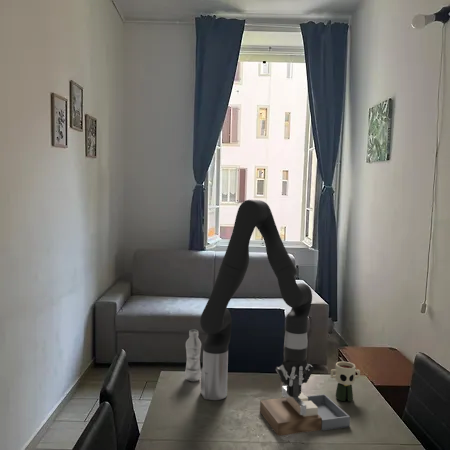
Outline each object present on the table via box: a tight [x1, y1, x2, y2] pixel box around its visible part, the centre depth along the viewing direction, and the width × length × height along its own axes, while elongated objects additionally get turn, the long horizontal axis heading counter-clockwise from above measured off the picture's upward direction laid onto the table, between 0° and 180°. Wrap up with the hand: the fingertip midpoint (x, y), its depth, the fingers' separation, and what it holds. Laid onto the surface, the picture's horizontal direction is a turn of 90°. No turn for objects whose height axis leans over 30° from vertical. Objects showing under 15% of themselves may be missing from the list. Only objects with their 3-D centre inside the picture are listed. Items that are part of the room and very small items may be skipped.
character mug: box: [330, 361, 361, 402], centre depth 168 cm, size 11×7×13 cm, turn 91°
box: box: [306, 393, 351, 432], centre depth 155 cm, size 10×17×4 cm, turn 16°
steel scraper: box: [281, 376, 306, 415], centre depth 151 cm, size 2×15×9 cm, turn 16°
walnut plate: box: [259, 397, 322, 436], centre depth 151 cm, size 15×16×4 cm
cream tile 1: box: [298, 391, 308, 401], centre depth 156 cm, size 5×5×2 cm
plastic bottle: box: [184, 329, 202, 382], centre depth 181 cm, size 6×7×20 cm
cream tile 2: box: [303, 401, 318, 417], centre depth 149 cm, size 5×5×2 cm
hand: (293, 395), depth 151 cm, fingers closed on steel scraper, 2 cm apart
